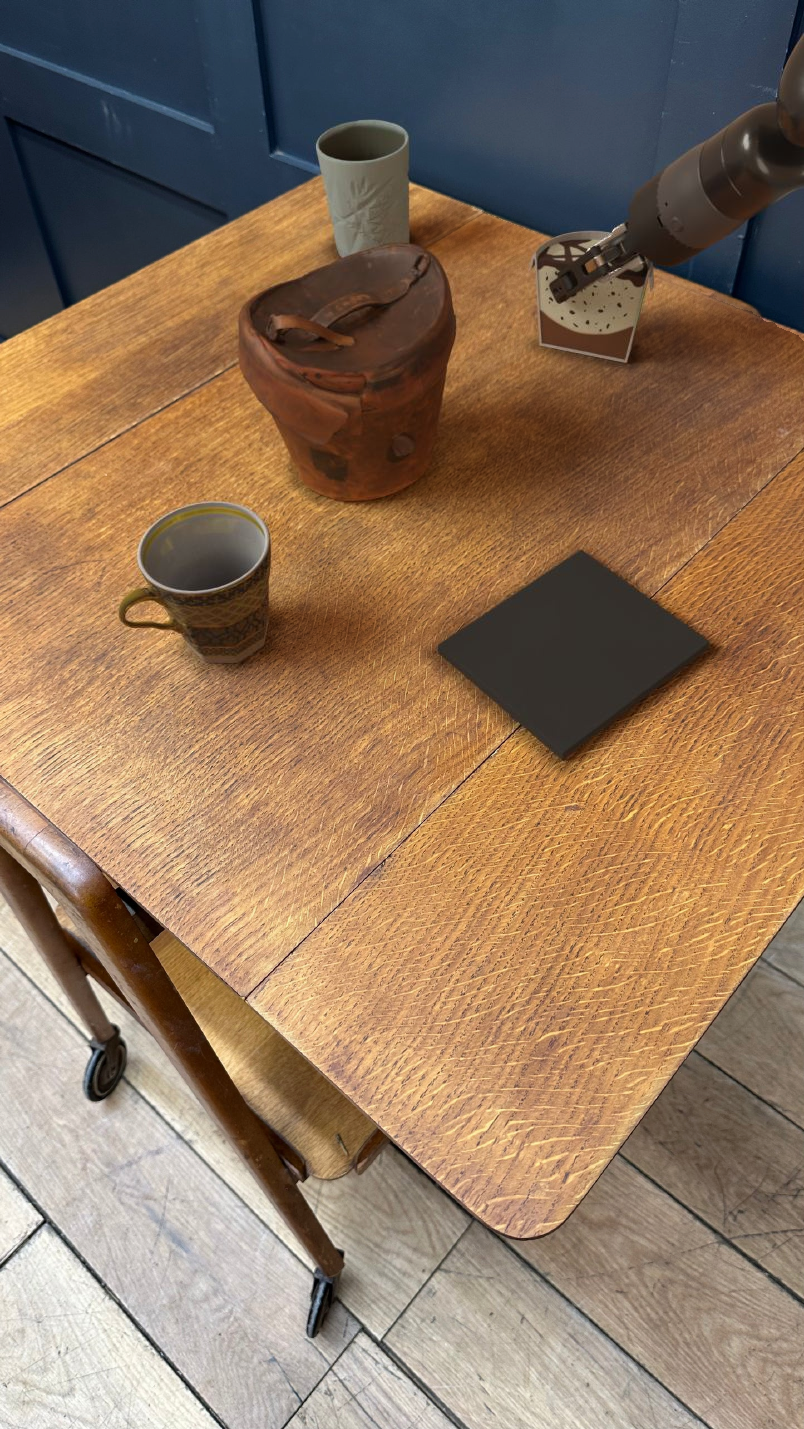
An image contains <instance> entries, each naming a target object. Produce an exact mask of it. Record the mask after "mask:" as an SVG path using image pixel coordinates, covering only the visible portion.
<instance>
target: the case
mask: <svg viewBox="0 0 804 1429" xmlns="http://www.w3.org/2000/svg"><path fill="white" fill-rule="evenodd" d="M451 290H452V289H451V285H450V281H449V279H448V276H447V273H446V271H445V269H444V267H443V265H442V263H441V261H440V260H439V259H438V257H437V256H435V255H434V253H432V252H431V251H430V250H428V249H427V248H425V247H423V246H420V245H418V244H414V243H410V242H409V243H389V244H384V245H380V246H378V247H375V248H371V249H368V250H364V251H359V252H357V253H354V254H351V255H348V256H345V257H343V258H342V257H340V258H338V259H335V260H334V261H332V262H331V263H328V264H326V265H323V266H321V267H317V268H315V269H313V270H310V271H308V272H307V273H305V274H304V275H302V276H300V277H297V278H294V279H291V280H287V281H284V282H280V283H278V284H275V285H273V286H270V287H268V288H266V289H264V290H262V291H260V292H258V293H257V294H254V296H252V297H251V298H249V299H248V300H247V301H246V302H245V303H244V304H243V305H242V307H241V309H240V310H239V314H238V320H237V321H238V323H237V324H238V325H237V326H238V348H237V349H238V350H237V354H238V355H237V358H238V365H239V369H240V371H241V373H242V375H243V378H244V380H245V381H246V382H247V384H248V386H249V388H250V390H251V391H252V393H253V394H254V396H255V397H256V399H257V401H258V402H259V403H260V404H261V405H262V406H263V407H264V408H265V410H266V411H267V412H268V413H269V414H270V415H271V417H272V419H273V422H274V424H275V425H276V426H275V427H276V428H277V430H278V431H279V435H280V436H281V438H282V441H283V442H284V445H285V448H286V449H287V452H288V454H289V456H290V458H291V461H292V462H293V464H294V466H295V468H296V472H297V475H298V477H299V479H300V481H301V482H302V483H303V485H304V486H306V487H307V488H308V489H310V490H311V491H313V492H315V493H318V494H319V495H322V496H324V497H326V498H329V499H333V500H337V501H347V502H353V501H354V502H355V501H356V502H357V501H368V500H375V499H379V498H383V497H386V496H390V495H392V494H396V493H397V492H400V491H401V490H403V489H405V488H407V487H408V486H410V485H412V484H413V483H415V482H416V481H418V479H420V478H421V476H422V475H424V473H425V472H426V471H427V470H428V469H429V467H430V465H431V463H432V460H433V456H434V450H435V444H436V438H437V434H438V428H439V427H438V426H439V421H440V416H441V410H442V404H443V398H444V392H445V385H446V380H447V372H448V364H449V361H450V358H451V355H452V351H453V347H454V346H455V345H454V344H455V342H456V337H457V315H456V314H455V309H454V304H453V296H452V291H451Z"/></svg>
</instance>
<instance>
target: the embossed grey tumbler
mask: <svg viewBox="0 0 804 1429" xmlns="http://www.w3.org/2000/svg"><path fill="white" fill-rule="evenodd" d="M315 149H316V155H317V158H318V163H319V168H320V172H321V176H322V181H323V185H324V191H325V196H326V204H327V206H328V212H329V213H328V214H329V217H330V221H331V224H332V226H333V236H334V241H335V247H336V251H337V253H338V255H339V257H340V258H343V257H345V256H348V255H351V254H354V253H357V252H359V251H364V250H368V249H371V248H375V247H378V246H380V245H384V244H389V243H410V179H409V176H408V174H409V170H410V166H409V165H410V162H409V161H410V136H409V133H408V132H407V130H406V129H405V128H404V127H402V126H400V125H399V124H397V123H395V122H389V121H385V120H380V119H361V120H360V119H359V120H355V121H348V122H344V123H340V124H339V125H338V124H337V125H336V126H333V127H331V128H329V129H327V130H326V131H324V133H322V134H321V135H320V136H319V137H318V139H317V141H316V144H315Z"/></svg>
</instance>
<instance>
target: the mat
mask: <svg viewBox="0 0 804 1429" xmlns="http://www.w3.org/2000/svg"><path fill="white" fill-rule="evenodd" d="M710 644H711V641H710V640H708V639H707V638H705V637H704V636H703V635H702V634H700V633H699V632H697V631H696V630H694V629H693V628H692V627H690V626H689V625H687V623H685V622H683V621H682V620H681V619H679V618H678V617H677V616H675V615H674V614H672V613H671V612H669V611H668V610H667V609H665V608H664V607H662V606H661V605H659V604H658V603H657V602H656V601H654V600H653V599H651V598H650V597H648V596H647V595H646V594H644V593H643V592H641V590H639V589H638V588H636V587H634V586H633V585H632V584H630V583H629V582H628V581H626V580H625V579H623V578H622V577H621V576H619V575H618V574H617V573H615V572H613V571H612V570H611V569H609V568H608V567H606V566H605V565H604V564H602V563H601V562H599V560H597V559H596V558H594V557H593V556H591V555H590V554H588V553H587V552H586V551H584V550H583V549H579V550H578V551H576V552H575V553H574V554H572V555H570V556H569V557H568V558H566V559H564V560H563V561H562V562H560V563H559V564H557V565H555V566H554V567H552V568H551V569H549V570H548V571H547V572H545V573H544V574H542V575H541V576H539V577H537V578H536V579H534V580H533V581H531V582H530V583H529V584H527V585H526V586H524V587H523V588H521V589H520V590H518V591H516V592H515V593H513V594H512V595H511V596H509V597H508V598H506V599H504V600H503V601H501V602H500V603H498V604H497V605H495V606H494V607H493V608H491V609H490V610H488V611H487V612H485V613H483V614H482V615H479V617H477V618H476V619H474V620H473V621H472V622H469V623H468V624H467V625H466V626H464V627H462V628H461V629H459V630H458V631H457V632H455V633H453V634H452V635H451V636H449V637H447V638H446V639H445V640H443V641H441V642H439V643H438V644H437V653H438V654H439V655H440V656H441V657H442V658H443V659H444V660H446V662H448V663H449V664H450V665H452V666H453V667H454V668H455V669H456V670H457V671H459V673H461V674H462V675H463V676H464V677H465V678H467V679H468V680H469V681H470V682H471V683H472V684H474V685H475V687H477V688H478V689H479V690H480V691H481V692H483V693H484V694H485V695H486V696H488V698H490V700H492V701H493V702H494V703H495V704H497V705H498V707H500V708H501V709H502V710H503V711H504V712H505V713H507V715H509V716H510V717H511V718H512V719H514V720H515V721H516V722H517V723H518V724H520V725H521V726H522V727H523V728H524V729H525V730H526V731H528V732H529V733H530V734H531V735H532V736H533V737H535V738H536V739H537V740H538V741H539V742H540V743H541V744H543V746H545V747H546V748H547V749H548V750H549V751H551V753H553V754H554V755H555V756H556V757H558V758H559V759H560V760H561V761H564V760H565V759H567V758H568V757H569V756H570V755H572V754H573V753H574V752H576V751H577V750H578V749H579V748H581V747H582V746H583V745H585V744H586V743H588V742H589V741H590V740H592V738H594V737H595V736H596V735H598V734H599V733H600V732H602V731H603V730H604V729H606V728H608V726H610V725H611V724H612V723H614V722H615V721H616V720H617V719H619V718H621V716H623V715H625V713H627V712H628V711H629V710H631V709H632V708H633V707H635V706H636V705H637V704H638V703H640V702H641V701H643V700H644V699H645V698H646V697H647V696H649V695H651V694H652V693H653V692H654V691H656V690H657V689H659V688H660V687H661V686H663V685H664V684H665V683H666V682H668V681H669V680H670V679H671V678H673V677H674V676H676V675H677V674H678V673H680V672H681V671H682V670H684V669H685V668H686V667H687V666H688V665H690V664H691V663H693V662H694V661H695V660H696V659H698V658H699V657H701V656H702V655H703V654H704V653H706V652H707V651H708V650H709V648H710Z"/></svg>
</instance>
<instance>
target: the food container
mask: <svg viewBox="0 0 804 1429" xmlns="http://www.w3.org/2000/svg"><path fill="white" fill-rule="evenodd" d="M611 233H612V232H609V231H601V230H581V231H574V232H567V233H563V234H560V235H557V236H554V237H552V238H550V239H548V240H546V241H544V242H542V244H540V245H539V246H538V247H537V248H536V249H535V250H534V254H533V255H532V256H531V261H530V264H529V267H528V268H529V269H528V271H532V270H533V268H534V270H535V271H534V272H535V290H536V308H537V310H536V311H537V325H538V326H537V327H538V328H537V329H538V344H539V345H538V346H541V347H545V348H550V349H554V350H560V351H565V352H569V353H570V352H571V353H576V354H580V355H583V356H585V355H586V356H589V357H594V358H595V357H596V358H600V359H605V360H610V361H615V362H620V363H625V364H628V361H629V358H630V355H631V350H632V347H633V344H634V343H633V342H634V338H635V334H636V331H637V327H638V322H639V319H640V315H641V310H642V306H643V303H644V300H645V299H644V298H645V295H646V290H647V287H648V284H649V293H652V292H653V290H654V287H655V275H654V263H653V262H651V261H650V260H648V259H647V260H648V261H646V262H645V263H643V264H641V265H640V266H638V267H636V268H634V269H631V270H630V269H628V270H626V271H624V272H623V273H621V274H619V275H618V276H616V277H615V278H613V279H611V280H610V281H608V282H605V283H600V282H598V281H597V282H596V283H594V284H592V285H591V286H589V287H588V288H586V290H585V291H584V292H579V293H577V295H576V296H574V297H571V298H569V299H568V300H566V301H565V302H563V303H561V304H558V303H557V302H556V301H555V299H554V297H553V295H552V292H551V290H550V288H549V284H550V283H551V282H552V281H553V280H555V279H556V278H558V277H557V273H558V272H560V271H559V270H560V269H562V268H565V267H567V266H568V265H569V264H571V263H572V262H574V261H575V260H576V259H578V258H579V257H581V256H582V255H583V254H585V253H586V251H587V249H588V248H590V247H591V246H593V245H595V244H596V243H598V242H599V241H601V240H602V239H604V238H606V237H607V236H609V235H610V234H611ZM608 244H609V243H608ZM608 244H607V245H605V246H604V247H602V248H601V250H602V253H603V252H605V251H606V248H607V246H608ZM608 264H609V267H610V269H611V271H609V273H611V272H613V271H614V270H616V269H618V268H619V267H617V268H616V267H613V266H612V265H611V263H610V262H609V263H608ZM620 267H621V266H620ZM648 282H649V283H648Z"/></svg>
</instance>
